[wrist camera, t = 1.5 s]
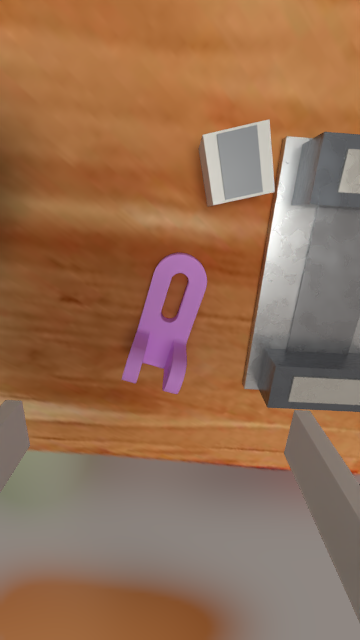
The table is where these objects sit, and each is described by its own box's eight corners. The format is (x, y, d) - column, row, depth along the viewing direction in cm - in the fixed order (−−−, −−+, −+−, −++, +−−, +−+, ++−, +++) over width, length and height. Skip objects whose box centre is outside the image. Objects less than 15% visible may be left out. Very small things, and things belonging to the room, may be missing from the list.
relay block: (207, 206, 28) (213, 205, 23) (198, 149, 26) (203, 134, 21) (258, 195, 27) (275, 191, 22) (252, 136, 26) (270, 118, 21)
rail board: (242, 384, 35) (252, 411, 30) (282, 139, 26) (307, 121, 21) (361, 389, 35) (391, 418, 30) (443, 151, 26) (504, 137, 21)
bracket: (175, 365, 34) (175, 401, 27) (130, 353, 33) (119, 387, 27) (213, 262, 30) (222, 275, 23) (162, 245, 29) (157, 254, 22)
